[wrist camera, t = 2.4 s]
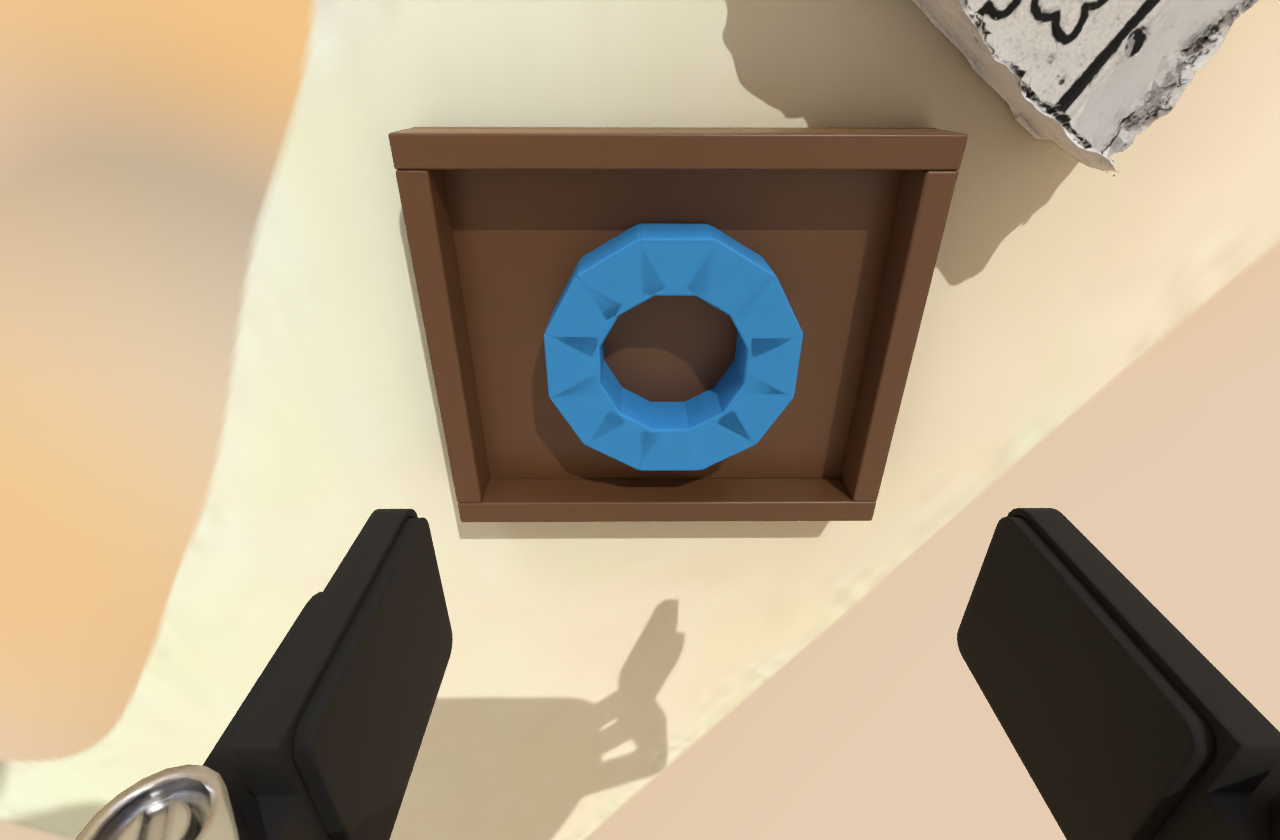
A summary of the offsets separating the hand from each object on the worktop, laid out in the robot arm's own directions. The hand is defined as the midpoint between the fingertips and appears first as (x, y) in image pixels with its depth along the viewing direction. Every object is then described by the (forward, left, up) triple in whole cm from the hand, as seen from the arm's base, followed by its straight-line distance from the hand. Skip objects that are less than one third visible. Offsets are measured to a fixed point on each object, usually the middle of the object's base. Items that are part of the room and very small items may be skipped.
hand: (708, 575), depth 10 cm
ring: (0, 0, -9) cm, 9 cm away
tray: (0, 0, -10) cm, 10 cm away
